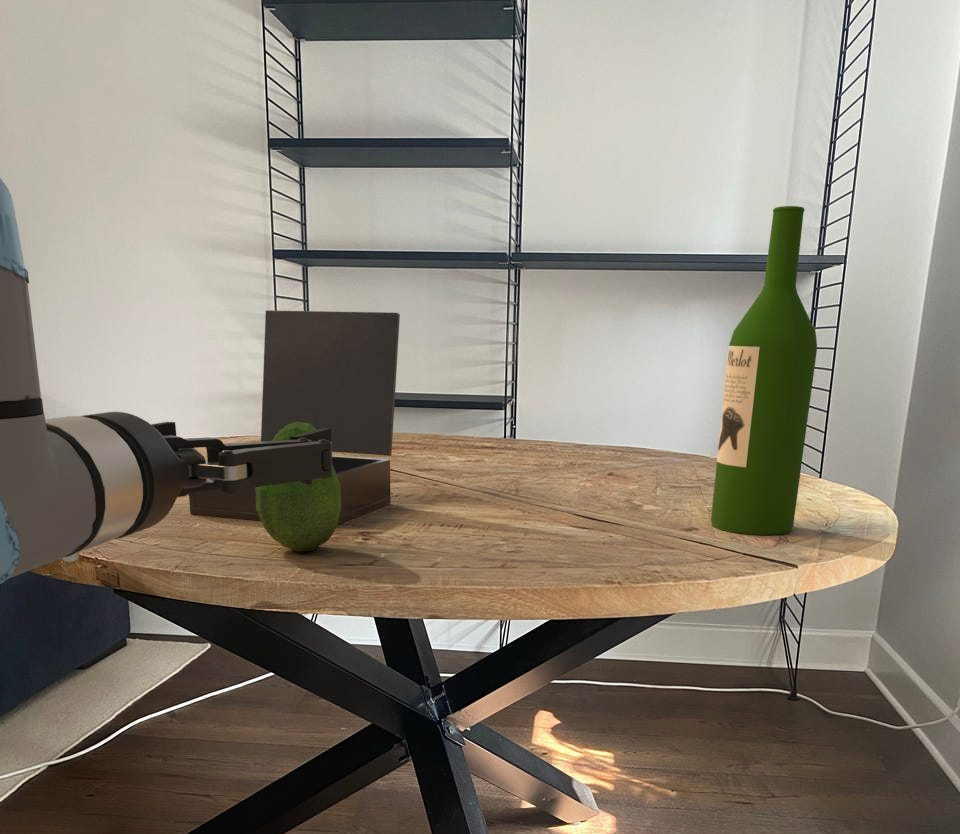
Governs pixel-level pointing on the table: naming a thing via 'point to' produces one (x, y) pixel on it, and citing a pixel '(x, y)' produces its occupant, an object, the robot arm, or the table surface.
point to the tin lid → (332, 376)
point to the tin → (358, 487)
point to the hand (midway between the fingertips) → (248, 441)
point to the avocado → (300, 505)
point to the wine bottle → (767, 397)
